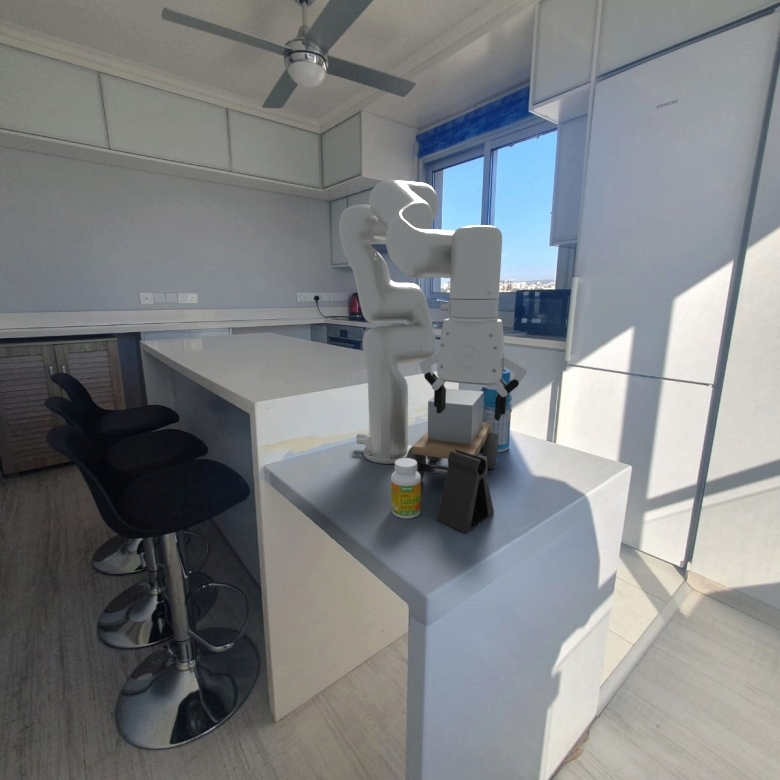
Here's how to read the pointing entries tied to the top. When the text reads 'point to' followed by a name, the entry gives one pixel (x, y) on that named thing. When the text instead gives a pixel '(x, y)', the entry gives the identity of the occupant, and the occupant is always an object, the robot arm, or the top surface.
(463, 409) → the trolley
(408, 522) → the top surface
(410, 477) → the supplement bottle
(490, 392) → the beverage bottle
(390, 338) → the robot arm
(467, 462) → the phone stand
